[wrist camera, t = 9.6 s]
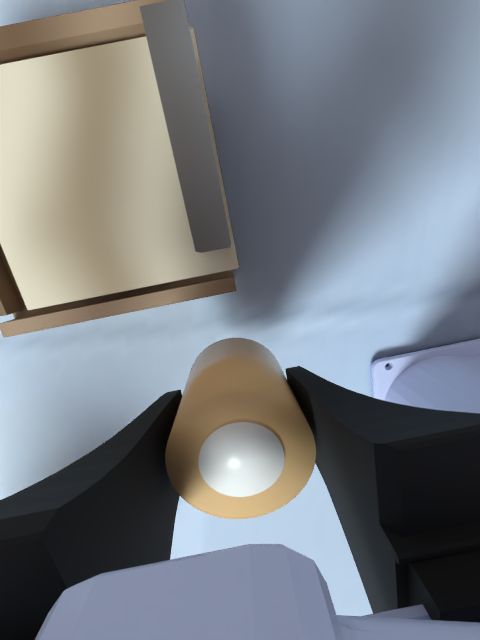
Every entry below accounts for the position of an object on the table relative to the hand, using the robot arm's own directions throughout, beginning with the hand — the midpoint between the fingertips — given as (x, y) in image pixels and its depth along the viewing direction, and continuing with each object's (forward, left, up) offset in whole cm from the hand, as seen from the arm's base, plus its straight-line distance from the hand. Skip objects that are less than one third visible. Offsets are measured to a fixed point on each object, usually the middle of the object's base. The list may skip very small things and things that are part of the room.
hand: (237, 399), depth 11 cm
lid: (+3, -10, -1) cm, 10 cm away
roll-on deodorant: (0, 0, -2) cm, 2 cm away
